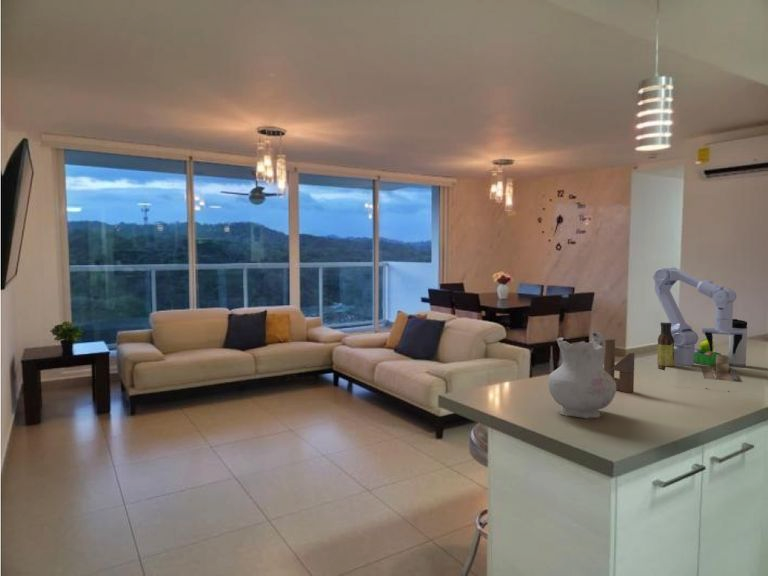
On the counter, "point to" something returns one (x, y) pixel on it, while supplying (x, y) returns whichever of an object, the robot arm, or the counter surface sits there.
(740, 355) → the travel mug
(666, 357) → the sauce bottle
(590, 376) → the ceramic pitcher
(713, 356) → the fruit basket
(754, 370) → the counter surface
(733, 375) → the walnut board
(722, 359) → the maple block
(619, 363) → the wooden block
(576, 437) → the counter surface
